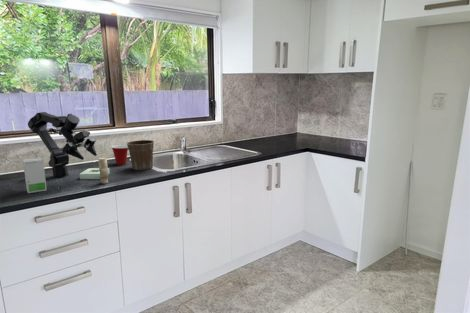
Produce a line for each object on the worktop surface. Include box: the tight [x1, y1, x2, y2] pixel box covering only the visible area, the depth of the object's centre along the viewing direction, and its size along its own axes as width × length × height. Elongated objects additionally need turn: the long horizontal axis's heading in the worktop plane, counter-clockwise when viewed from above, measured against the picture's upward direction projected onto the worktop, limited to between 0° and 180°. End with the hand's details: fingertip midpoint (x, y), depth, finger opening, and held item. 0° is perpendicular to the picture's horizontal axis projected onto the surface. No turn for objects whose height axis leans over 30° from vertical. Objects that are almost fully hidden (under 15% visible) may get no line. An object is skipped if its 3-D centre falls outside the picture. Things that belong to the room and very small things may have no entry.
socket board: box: [79, 167, 111, 180], centre depth 184 cm, size 12×12×3 cm
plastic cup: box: [111, 144, 129, 166], centre depth 210 cm, size 11×11×12 cm
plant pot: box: [126, 139, 155, 171], centre depth 200 cm, size 16×16×16 cm
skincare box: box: [22, 157, 48, 194], centre depth 159 cm, size 8×7×16 cm
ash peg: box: [98, 157, 109, 185], centre depth 170 cm, size 4×4×13 cm
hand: (89, 157), depth 171 cm, fingers open, 9 cm apart
